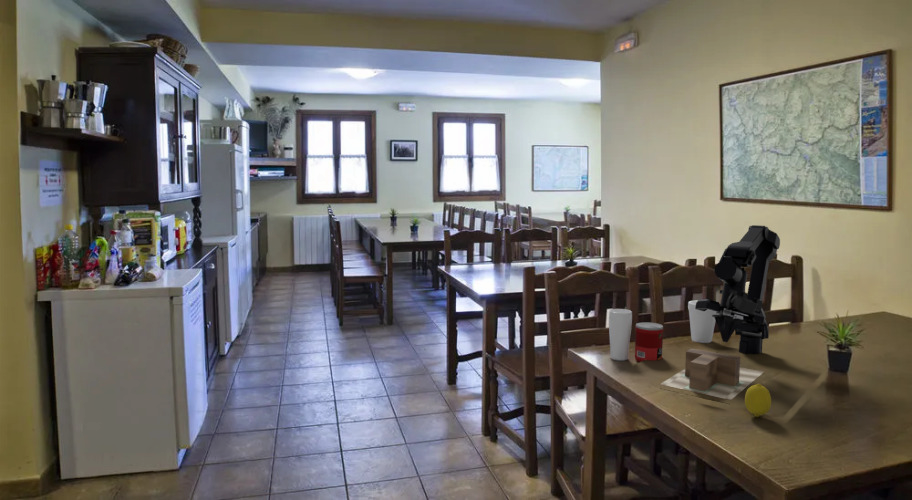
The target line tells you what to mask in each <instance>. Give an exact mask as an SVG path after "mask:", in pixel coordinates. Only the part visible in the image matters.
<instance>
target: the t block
mask: <svg viewBox="0 0 912 500" xmlns="http://www.w3.org/2000/svg"><path fill="white" fill-rule="evenodd" d="M684 363H685V368H684V369H685V376H686V377H690V382H689V388H691V389H695V390H700V391H706V390H708V389H709V388H710V387H712V386H713V385H714V384H716V383H720V384H725V385H730V386H736V385H737V384H738V383H739V375H740V368H741V356H737V355H732V354H725V353H719V352H714V351H709V350H702V349H698V348H697V349H696V348H693V347H692V348H689V349H688V350H686V351H685V362H684Z"/></svg>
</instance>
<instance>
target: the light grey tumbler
mask: <svg viewBox="0 0 912 500" xmlns="http://www.w3.org/2000/svg"><path fill="white" fill-rule="evenodd" d="M632 321H633V311H631V310H630V309H625V308H612V309H610V310H609V313H608V329H609V330H608V331H609V332H608V333H609V334H608V336H609V351H610V353H609V357H610V358H611V360H614V361H619V362H622V361H623V362H624V361H627V360H628V359H629V349H630V342H631V341H630V340H631V333H632V324H633V322H632Z"/></svg>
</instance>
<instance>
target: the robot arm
mask: <svg viewBox="0 0 912 500" xmlns="http://www.w3.org/2000/svg"><path fill="white" fill-rule="evenodd" d="M780 247H781V239H780V236H779V235H778V233H777V232H775V231H773V230H771V229H770V228H769V227H768V226H766V225H759V224H758V225H754V224H753V225H749V227H748V230H747V231H746V232H745V234H744V235H743V236H742V237H741V238H740V240H739V241H737V242H732V243H730V244H728V245H727V247H726V248H725V249H724V251H723V253H722V255H721V257H720V258H719V261H718V263H717V264H716V265H715V267H714V274H715V275H716V277H717V278H718V279H719V280H721V281H722V282H723V286H722V289H719V294H720V295H721V299H720V302H719V301H716V300H712V299H709V298H708V299H698V301H697V303H696V307H695V309H697V310H701V311H706V310H707V309H709V310H713V311H716V314H715V315H712V317H714V318H715V320H716V321H715V323H716V325H717V327H718V330H719V334H720V336H721V339H722V340H721V341H722V342H724V343H728V342H729V341H730V339H731V337H732V335H733V334H734V332H735V334H734V335H735V336H739V341H738V342H739V345H738V353H742V354H744V355H759V354H762V353H763V341H764V340H765V339H766V340H767V339H769V336H770V334H769V333H770V332H769V331H770V330H769V327H768V323H767V320H766V313H765V312H764V310H763V309H764V308H763V300H764V295H765V294H764V293H765V289H766V283H767V277H768V270H769V265H770V262H771V261H773V259H774V258H776V256H777V253H778V250H779V248H780ZM750 267H751V271H750V275H749V276H750V277H749V281H748V289H747V292H745V291H746V287H747V286H746V285H747V279H748V272H747V271H746V268H750Z"/></svg>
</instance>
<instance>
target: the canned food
mask: <svg viewBox="0 0 912 500" xmlns="http://www.w3.org/2000/svg"><path fill="white" fill-rule="evenodd" d="M663 343H664V326H663V325H662V324H660V323H657V322H638V323H637V322H636V324H635V335H634V358H635V361H637V362H638V363H641V362H644V361H659V360H662V359H663V347H664V346H663Z"/></svg>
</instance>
